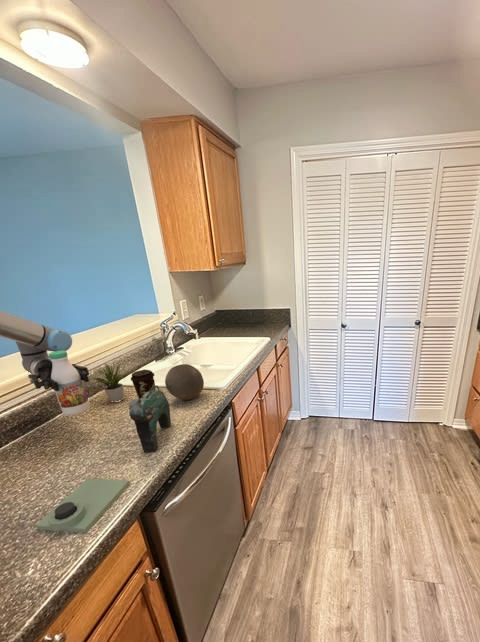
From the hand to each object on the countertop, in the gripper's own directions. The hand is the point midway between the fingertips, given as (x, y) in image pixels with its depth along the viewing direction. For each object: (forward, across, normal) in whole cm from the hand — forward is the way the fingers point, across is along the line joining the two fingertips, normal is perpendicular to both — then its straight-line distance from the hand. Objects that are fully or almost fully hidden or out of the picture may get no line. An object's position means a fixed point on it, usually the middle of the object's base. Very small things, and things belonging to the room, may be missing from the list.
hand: (72, 382), depth 100 cm
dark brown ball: (+2, -37, -20) cm, 42 cm away
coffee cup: (-11, -26, -20) cm, 35 cm away
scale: (+33, +14, -20) cm, 41 cm away
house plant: (-26, -21, -20) cm, 39 cm away
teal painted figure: (+19, -13, -20) cm, 31 cm away
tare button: (+36, +18, -18) cm, 44 cm away
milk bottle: (-5, 0, -11) cm, 12 cm away
